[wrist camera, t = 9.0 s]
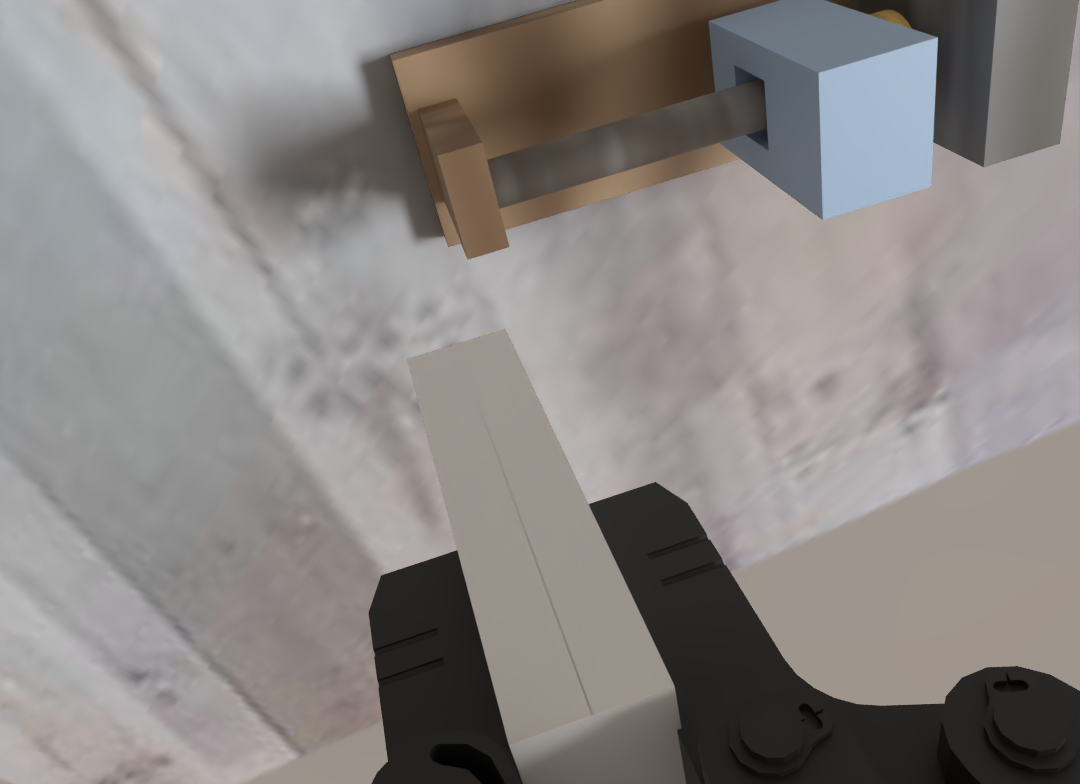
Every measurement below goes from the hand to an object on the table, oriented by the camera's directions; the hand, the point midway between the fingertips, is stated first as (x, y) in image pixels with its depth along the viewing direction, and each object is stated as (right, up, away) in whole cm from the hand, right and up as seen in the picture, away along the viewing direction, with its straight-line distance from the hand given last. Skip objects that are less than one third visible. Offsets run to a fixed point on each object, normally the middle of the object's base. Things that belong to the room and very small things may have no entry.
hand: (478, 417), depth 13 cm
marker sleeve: (+10, +13, +22) cm, 28 cm away
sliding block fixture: (+6, +14, +24) cm, 29 cm away
